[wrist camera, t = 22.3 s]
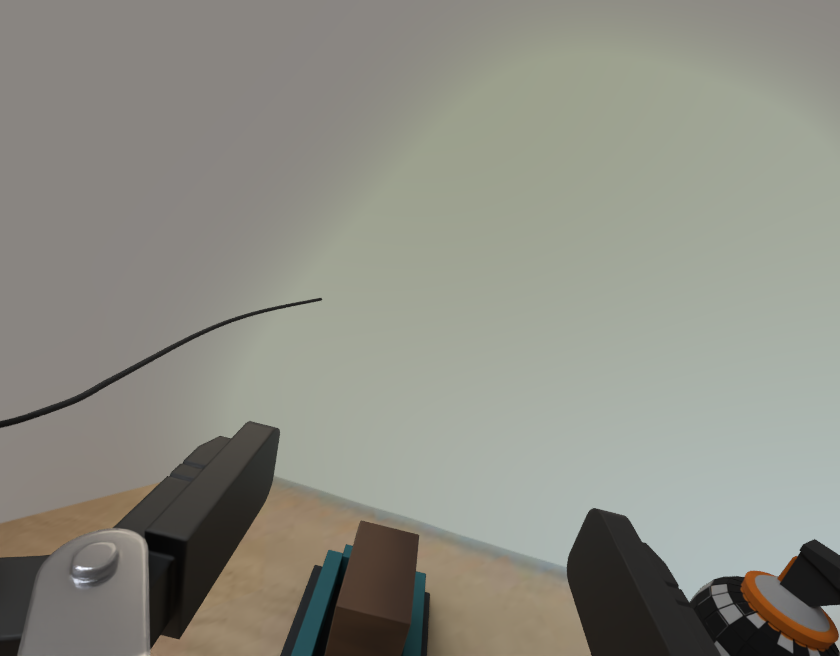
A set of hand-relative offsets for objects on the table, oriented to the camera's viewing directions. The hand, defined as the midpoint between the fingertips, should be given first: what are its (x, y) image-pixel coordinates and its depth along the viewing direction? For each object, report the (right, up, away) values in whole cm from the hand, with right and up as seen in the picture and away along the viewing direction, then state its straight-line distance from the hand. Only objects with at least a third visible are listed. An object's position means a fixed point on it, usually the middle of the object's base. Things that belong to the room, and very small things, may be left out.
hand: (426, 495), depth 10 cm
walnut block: (-5, -19, +16) cm, 25 cm away
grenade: (+25, -26, +22) cm, 42 cm away
